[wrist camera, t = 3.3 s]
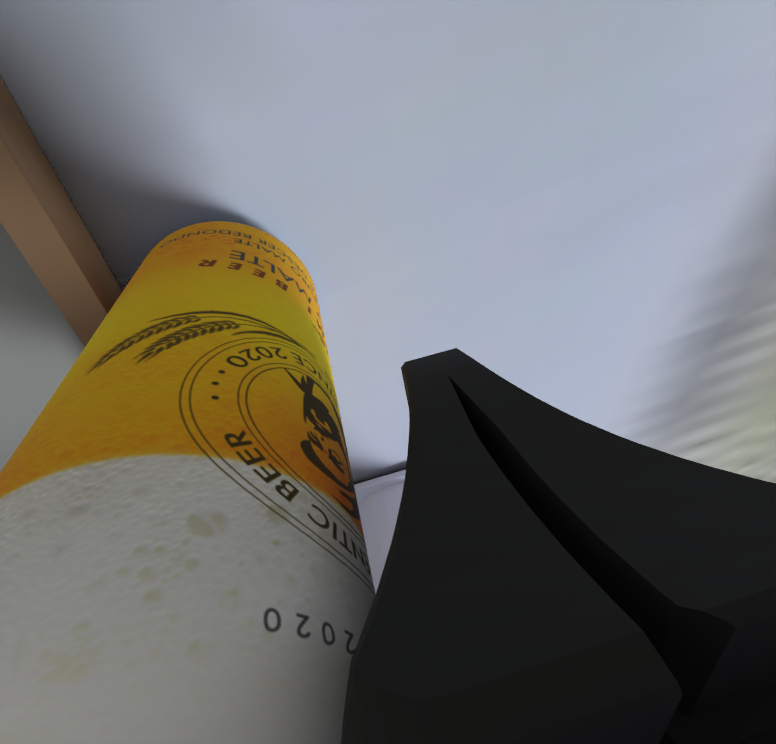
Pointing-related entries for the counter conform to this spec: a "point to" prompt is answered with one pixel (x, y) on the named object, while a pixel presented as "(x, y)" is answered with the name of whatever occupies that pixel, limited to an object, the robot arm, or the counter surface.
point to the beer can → (186, 517)
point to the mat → (28, 347)
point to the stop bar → (50, 227)
